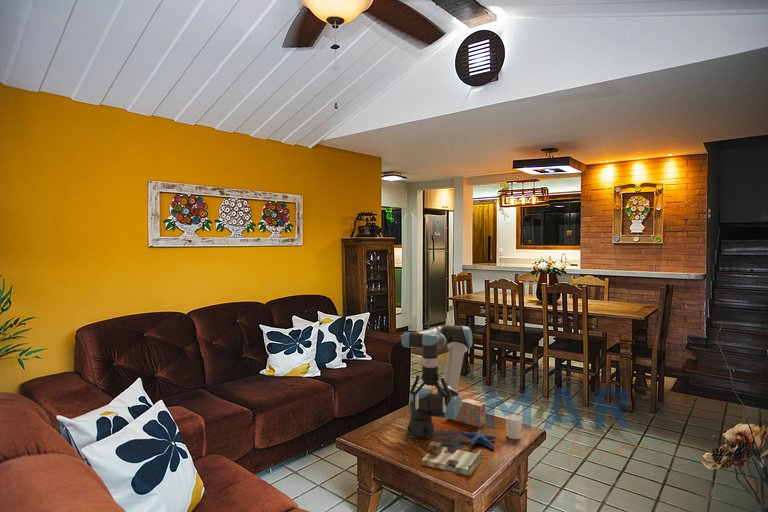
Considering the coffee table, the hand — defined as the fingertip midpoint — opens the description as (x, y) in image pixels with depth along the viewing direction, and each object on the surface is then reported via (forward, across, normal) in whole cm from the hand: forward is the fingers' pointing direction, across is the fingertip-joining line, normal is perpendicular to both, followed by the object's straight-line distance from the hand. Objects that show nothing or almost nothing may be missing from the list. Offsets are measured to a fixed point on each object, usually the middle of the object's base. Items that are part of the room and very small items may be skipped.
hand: (430, 409), depth 221 cm
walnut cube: (+19, +3, -4) cm, 20 cm away
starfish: (+22, +21, +20) cm, 36 cm away
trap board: (+21, +11, -5) cm, 25 cm away
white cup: (+21, +35, +34) cm, 54 cm away
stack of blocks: (+22, +8, +47) cm, 53 cm away
